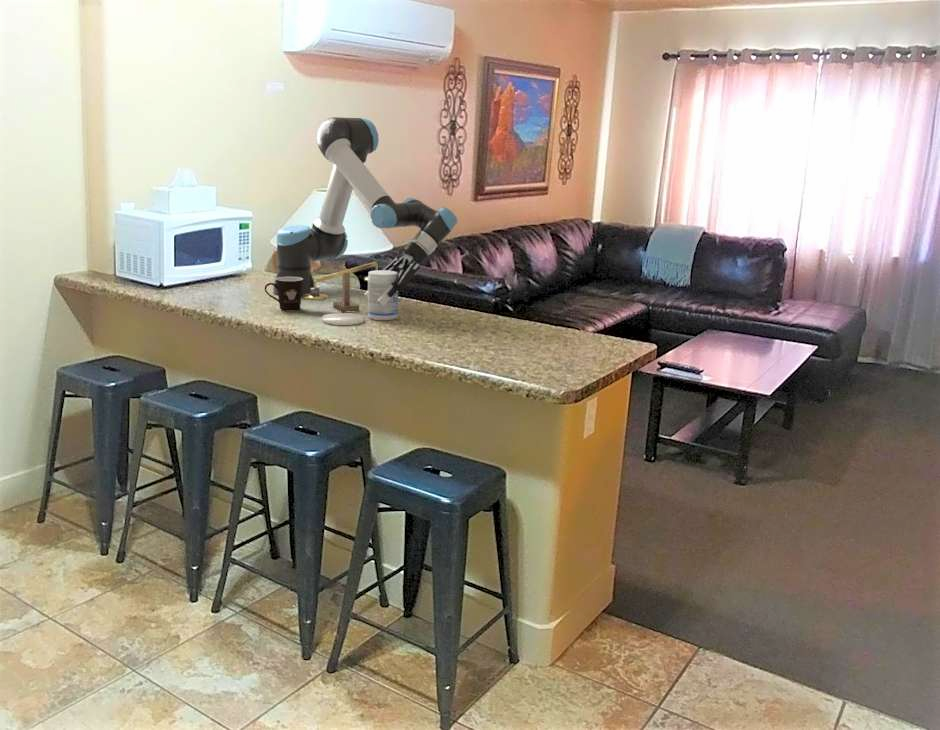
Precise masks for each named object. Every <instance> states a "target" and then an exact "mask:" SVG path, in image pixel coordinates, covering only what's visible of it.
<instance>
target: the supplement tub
mask: <svg viewBox="0 0 940 730" xmlns="http://www.w3.org/2000/svg"><path fill="white" fill-rule="evenodd" d="M398 274H399V273H397V272H395V271H388V270H383V269H381V270H380V269H379V270H375V269H374V270H370V271H368V275H367V276H368V282H367V291H368V298H367V317H368V318H369V319H371V320H375V321H392V320H396V319H397V318H398V315H399V291H397V292H396V293H395V294H394V295H393V297H392V298H391V299H390V300H389V301H388V302H387V303H386V305H385V306H382V305H381V304H380V302H379V301H378V299H379V298H380V297H381V296H382V294H383V293H384V292H385V291H386V290H387V289H388V288H389V287H390V285H392V284H391V283H393V282H395V280H396V278H397V276H398ZM392 286H393V285H392Z"/></svg>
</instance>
